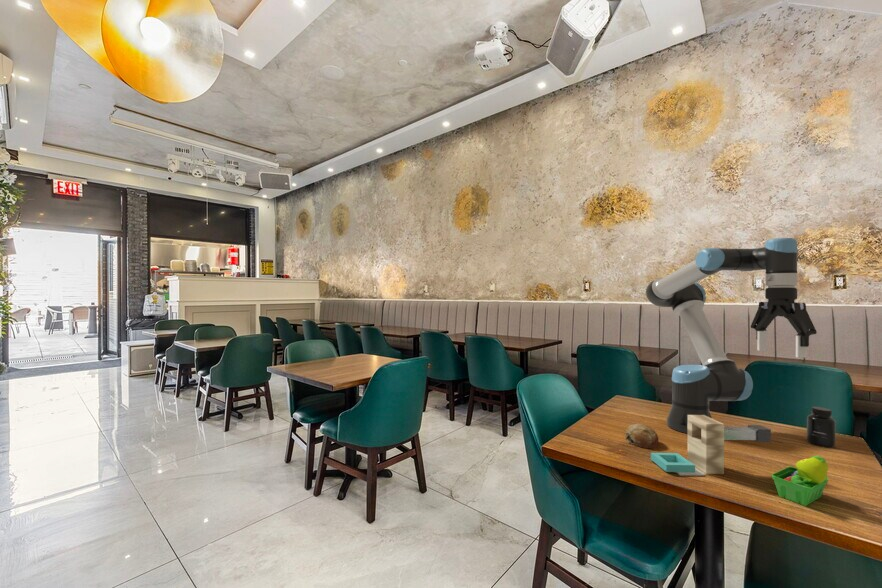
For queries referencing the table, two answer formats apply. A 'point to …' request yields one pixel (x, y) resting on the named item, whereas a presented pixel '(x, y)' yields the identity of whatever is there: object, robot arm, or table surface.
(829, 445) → the supplement bottle
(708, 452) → the light wood tall block
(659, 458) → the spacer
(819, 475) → the fruit basket
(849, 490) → the table surface
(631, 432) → the brown rounded lump
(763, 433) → the shaft
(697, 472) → the mat
